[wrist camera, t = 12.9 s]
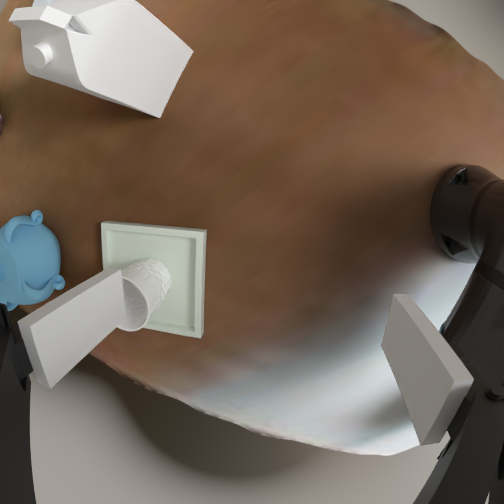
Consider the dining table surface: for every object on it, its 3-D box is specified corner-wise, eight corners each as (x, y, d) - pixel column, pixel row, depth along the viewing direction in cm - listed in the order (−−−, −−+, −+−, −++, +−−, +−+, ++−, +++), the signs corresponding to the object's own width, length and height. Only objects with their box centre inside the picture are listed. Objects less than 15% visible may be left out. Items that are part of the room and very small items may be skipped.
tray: (206, 229, 43) (203, 232, 41) (203, 332, 48) (200, 338, 46) (107, 220, 45) (101, 222, 43) (113, 315, 49) (108, 319, 47)
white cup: (150, 309, 47) (122, 339, 37) (122, 270, 46) (88, 293, 36) (185, 286, 45) (161, 316, 36) (154, 244, 44) (122, 264, 34)
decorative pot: (81, 289, 49) (35, 320, 36) (32, 296, 51) (-10, 322, 38) (58, 203, 45) (3, 216, 32) (11, 222, 47) (-36, 237, 34)
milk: (193, 51, 36) (103, -44, 11) (159, 118, 40) (31, 79, 15) (131, 37, 36) (27, -31, 11) (101, 98, 39) (-25, 68, 14)
